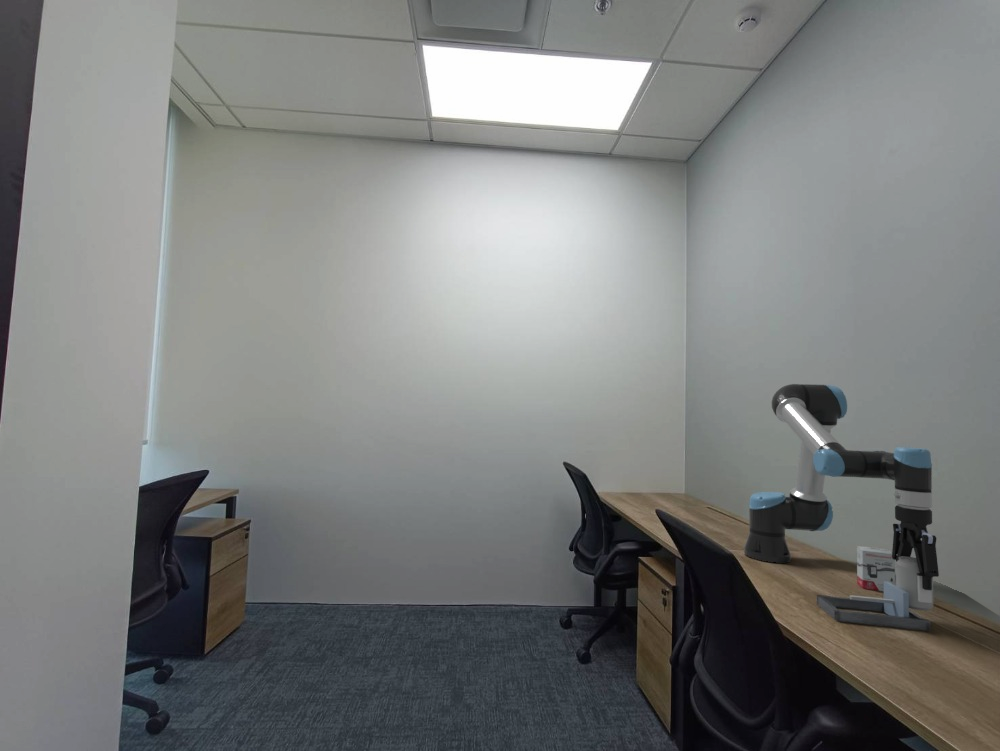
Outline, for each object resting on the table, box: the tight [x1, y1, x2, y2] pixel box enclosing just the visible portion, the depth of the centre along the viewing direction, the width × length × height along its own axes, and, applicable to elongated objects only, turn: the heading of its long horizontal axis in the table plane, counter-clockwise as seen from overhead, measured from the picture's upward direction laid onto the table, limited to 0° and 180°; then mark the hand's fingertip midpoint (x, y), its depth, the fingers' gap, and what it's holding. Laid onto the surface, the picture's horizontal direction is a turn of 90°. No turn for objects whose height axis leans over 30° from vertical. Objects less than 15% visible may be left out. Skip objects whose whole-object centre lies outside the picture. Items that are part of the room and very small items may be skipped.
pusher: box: [849, 581, 910, 617], centre depth 131 cm, size 9×11×8 cm
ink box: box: [856, 545, 896, 592], centre depth 154 cm, size 9×5×12 cm, turn 69°
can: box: [895, 556, 934, 612], centre depth 129 cm, size 8×8×12 cm
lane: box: [816, 594, 932, 632], centre depth 130 cm, size 12×21×2 cm, turn 79°
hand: (914, 595), depth 129 cm, fingers closed on can, 7 cm apart
